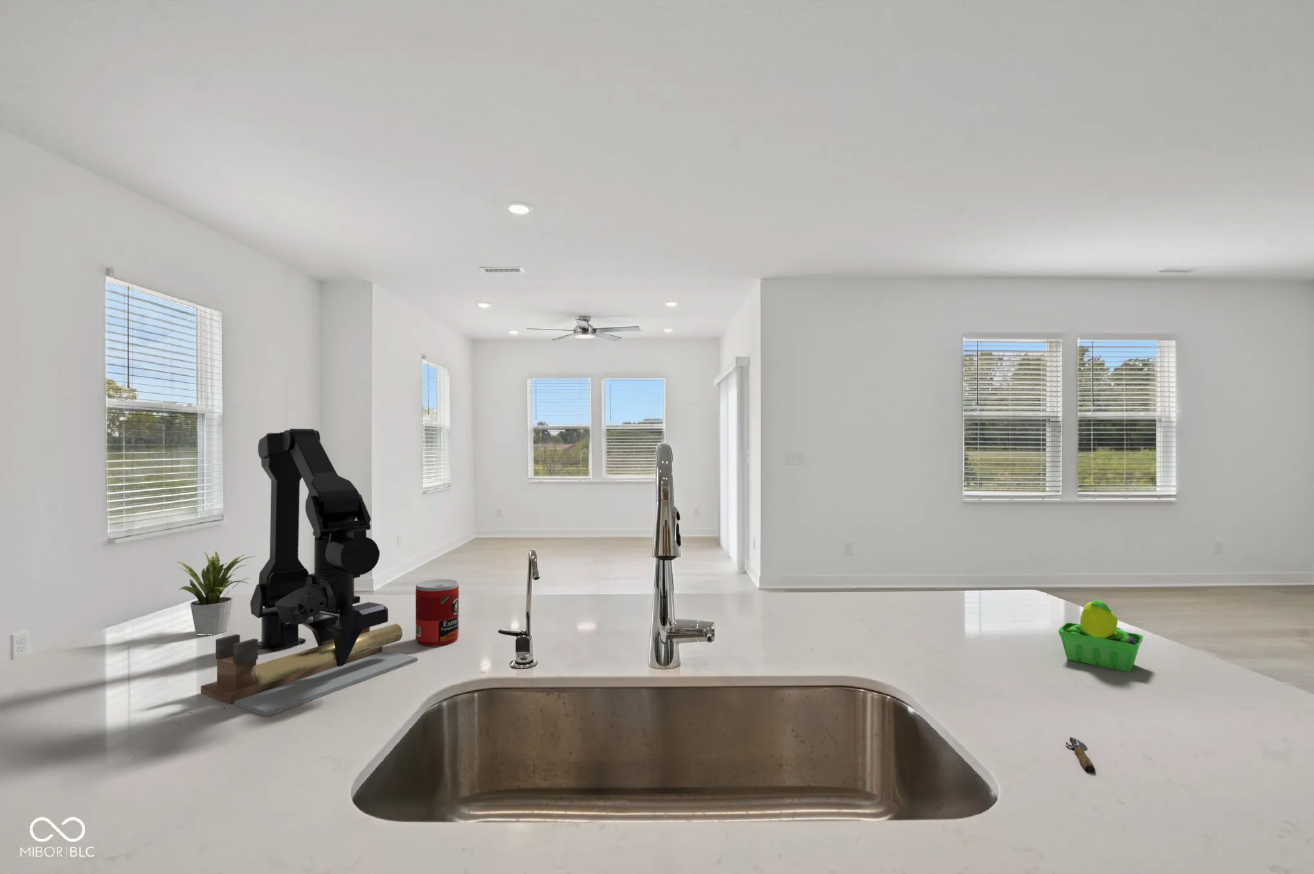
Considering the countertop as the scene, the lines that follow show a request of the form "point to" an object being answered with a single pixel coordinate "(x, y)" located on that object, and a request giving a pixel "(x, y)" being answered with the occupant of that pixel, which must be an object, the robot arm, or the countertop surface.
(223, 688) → the stand
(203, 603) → the house plant
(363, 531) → the robot arm
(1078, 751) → the can opener
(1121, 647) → the fruit basket
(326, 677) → the mat
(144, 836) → the countertop surface
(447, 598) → the canned food
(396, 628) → the rail
